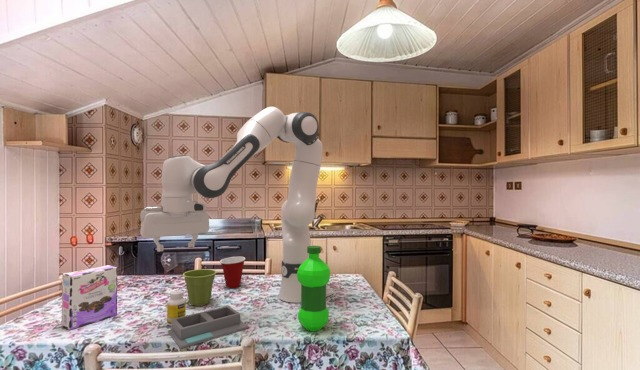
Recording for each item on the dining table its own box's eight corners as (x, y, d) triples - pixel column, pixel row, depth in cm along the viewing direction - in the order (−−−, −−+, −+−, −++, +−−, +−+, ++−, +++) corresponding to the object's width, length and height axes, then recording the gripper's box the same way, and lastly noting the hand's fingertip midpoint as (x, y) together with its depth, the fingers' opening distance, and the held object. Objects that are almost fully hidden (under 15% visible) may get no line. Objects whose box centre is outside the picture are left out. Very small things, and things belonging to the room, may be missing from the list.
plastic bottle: (330, 320, 107) (330, 244, 107) (329, 335, 96) (329, 250, 96) (299, 319, 107) (300, 243, 107) (295, 334, 97) (295, 249, 97)
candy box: (69, 330, 99) (69, 276, 98) (61, 326, 102) (61, 273, 102) (117, 315, 110) (118, 266, 110) (108, 311, 113) (109, 264, 113)
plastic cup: (217, 284, 145) (218, 257, 145) (242, 281, 149) (242, 255, 149) (221, 291, 135) (221, 262, 135) (247, 288, 140) (248, 260, 140)
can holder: (231, 315, 111) (231, 304, 111) (248, 328, 101) (248, 316, 101) (167, 332, 98) (167, 320, 98) (180, 348, 88) (180, 335, 88)
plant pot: (223, 301, 124) (223, 271, 124) (195, 311, 114) (195, 279, 114) (203, 295, 131) (203, 267, 131) (175, 304, 121) (176, 273, 121)
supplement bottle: (178, 327, 101) (178, 295, 101) (163, 325, 103) (163, 294, 103) (189, 320, 107) (189, 290, 107) (174, 318, 108) (174, 288, 108)
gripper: (142, 207, 96) (142, 255, 96) (211, 205, 109) (210, 247, 109) (137, 206, 100) (137, 251, 100) (204, 204, 114) (203, 244, 114)
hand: (176, 249), depth 105 cm, fingers open, 8 cm apart
